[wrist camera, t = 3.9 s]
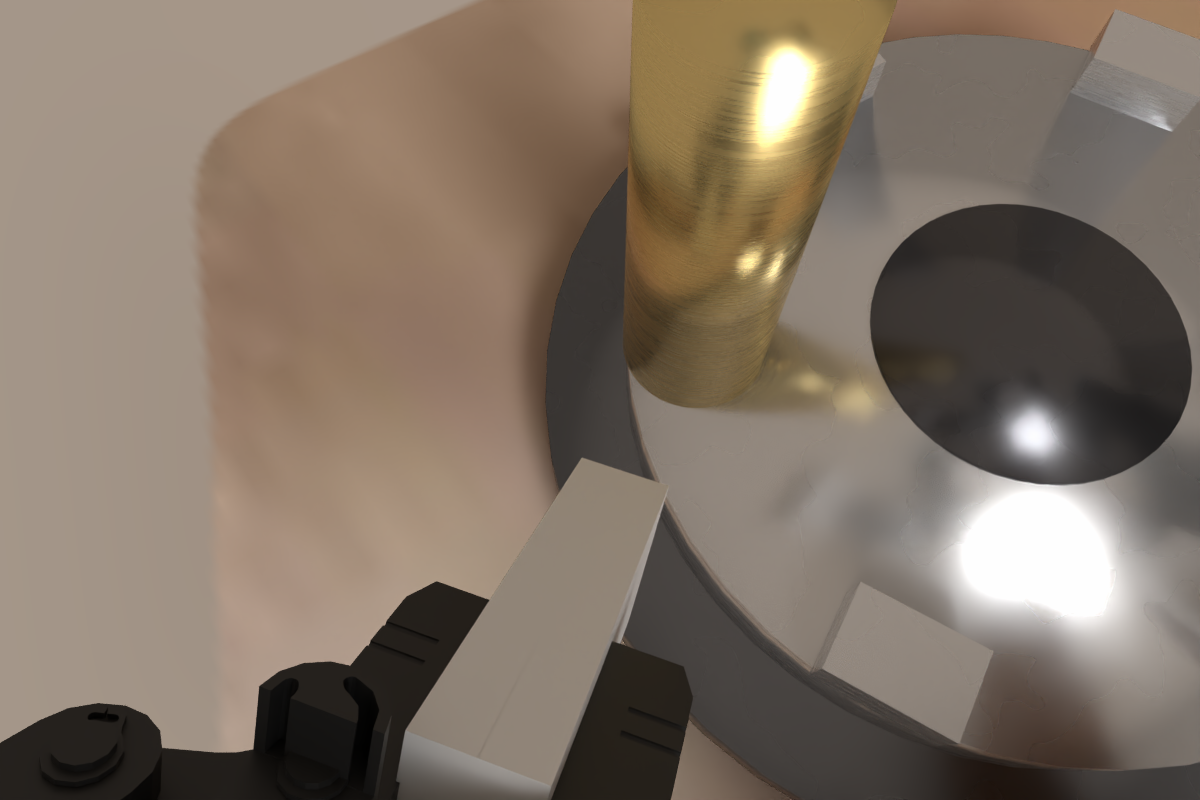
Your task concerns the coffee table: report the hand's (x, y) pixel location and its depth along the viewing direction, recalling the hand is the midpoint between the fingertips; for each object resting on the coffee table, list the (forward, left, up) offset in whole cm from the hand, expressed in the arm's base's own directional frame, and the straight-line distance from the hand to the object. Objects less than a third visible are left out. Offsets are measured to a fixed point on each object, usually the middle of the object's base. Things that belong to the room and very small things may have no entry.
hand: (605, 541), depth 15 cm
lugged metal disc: (-7, -8, -5) cm, 12 cm away
